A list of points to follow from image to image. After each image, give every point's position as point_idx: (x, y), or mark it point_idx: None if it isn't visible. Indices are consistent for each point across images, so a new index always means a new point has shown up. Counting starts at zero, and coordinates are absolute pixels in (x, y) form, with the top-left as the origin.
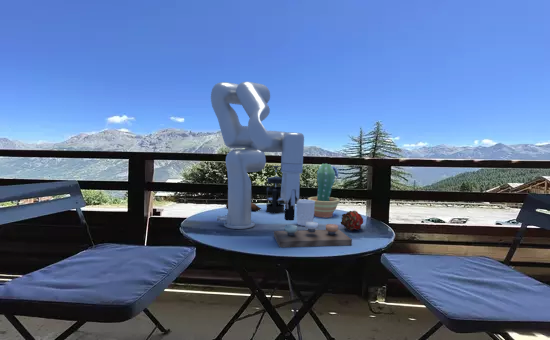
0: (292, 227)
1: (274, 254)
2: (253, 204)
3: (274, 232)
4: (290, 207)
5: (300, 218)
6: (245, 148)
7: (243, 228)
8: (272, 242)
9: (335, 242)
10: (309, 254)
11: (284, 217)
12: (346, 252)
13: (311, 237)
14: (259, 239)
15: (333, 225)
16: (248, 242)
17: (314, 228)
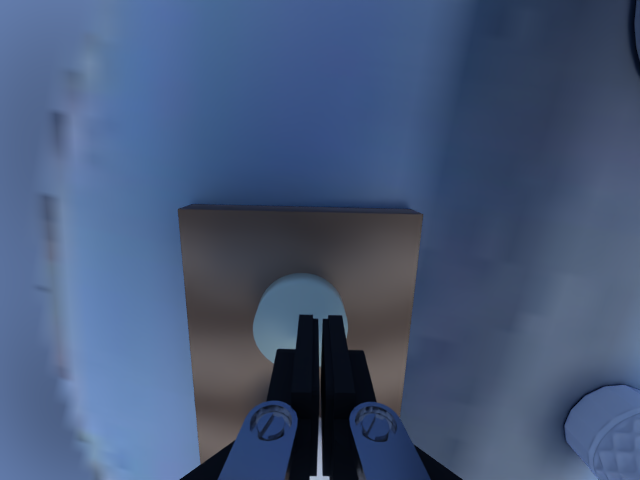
0: (270, 334)
1: (71, 152)
2: None
3: (403, 213)
4: (210, 476)
5: (629, 427)
6: None
7: (635, 13)
8: (292, 179)
9: None
10: (82, 328)
11: (341, 320)
12: (119, 477)
13: (254, 397)
14: (363, 105)
15: None
16: (308, 15)
17: None
